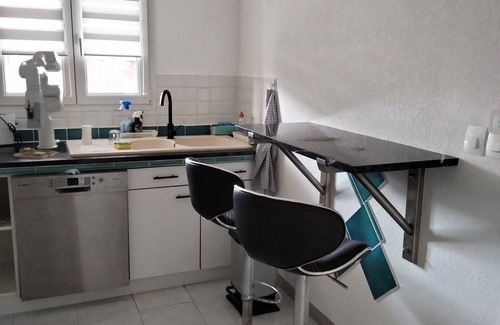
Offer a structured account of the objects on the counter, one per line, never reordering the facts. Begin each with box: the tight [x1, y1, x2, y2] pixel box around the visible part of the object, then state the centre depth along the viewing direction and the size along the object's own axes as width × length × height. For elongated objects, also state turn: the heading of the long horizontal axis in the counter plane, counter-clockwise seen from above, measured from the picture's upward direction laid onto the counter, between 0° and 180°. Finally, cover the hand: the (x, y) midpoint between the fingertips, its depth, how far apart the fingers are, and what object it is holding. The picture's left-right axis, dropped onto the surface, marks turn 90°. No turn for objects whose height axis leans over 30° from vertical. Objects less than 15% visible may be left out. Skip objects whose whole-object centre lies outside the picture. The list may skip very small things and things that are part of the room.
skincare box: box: [26, 102, 45, 130], centre depth 277 cm, size 8×7×16 cm
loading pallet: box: [13, 147, 60, 160], centre depth 284 cm, size 15×20×4 cm
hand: (36, 117), depth 277 cm, fingers closed on skincare box, 7 cm apart
